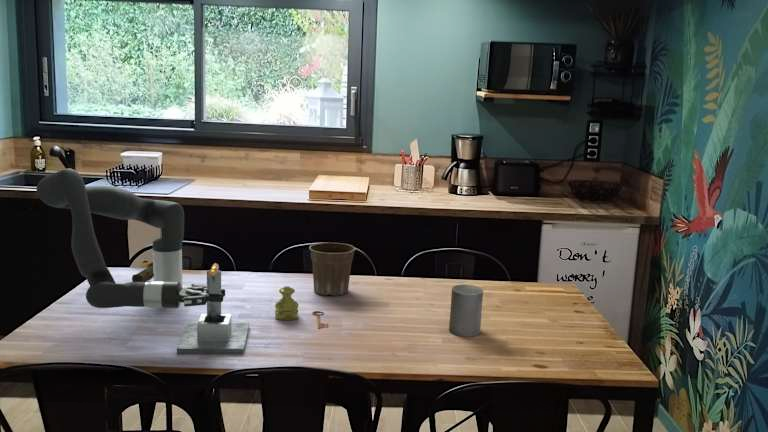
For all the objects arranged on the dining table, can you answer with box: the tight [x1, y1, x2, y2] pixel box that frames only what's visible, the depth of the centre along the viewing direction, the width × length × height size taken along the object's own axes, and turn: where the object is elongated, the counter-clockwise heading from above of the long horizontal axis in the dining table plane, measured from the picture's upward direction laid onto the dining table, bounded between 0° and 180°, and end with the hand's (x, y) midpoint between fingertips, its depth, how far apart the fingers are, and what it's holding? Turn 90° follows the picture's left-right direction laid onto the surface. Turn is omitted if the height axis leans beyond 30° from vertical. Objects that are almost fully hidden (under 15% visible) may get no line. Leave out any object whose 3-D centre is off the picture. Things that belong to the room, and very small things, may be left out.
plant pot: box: [308, 242, 356, 297], centre depth 259 cm, size 16×16×16 cm
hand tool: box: [131, 261, 154, 282], centre depth 268 cm, size 19×4×5 cm, turn 170°
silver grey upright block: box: [206, 262, 222, 322], centre depth 208 cm, size 9×4×18 cm, turn 6°
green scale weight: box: [274, 285, 299, 322], centre depth 232 cm, size 7×7×10 cm
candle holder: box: [176, 313, 250, 355], centre depth 210 cm, size 20×18×6 cm
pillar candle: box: [448, 284, 484, 338], centre depth 224 cm, size 10×10×15 cm
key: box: [311, 310, 330, 330], centre depth 231 cm, size 6×1×15 cm
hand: (223, 295), depth 208 cm, fingers closed on silver grey upright block, 4 cm apart
